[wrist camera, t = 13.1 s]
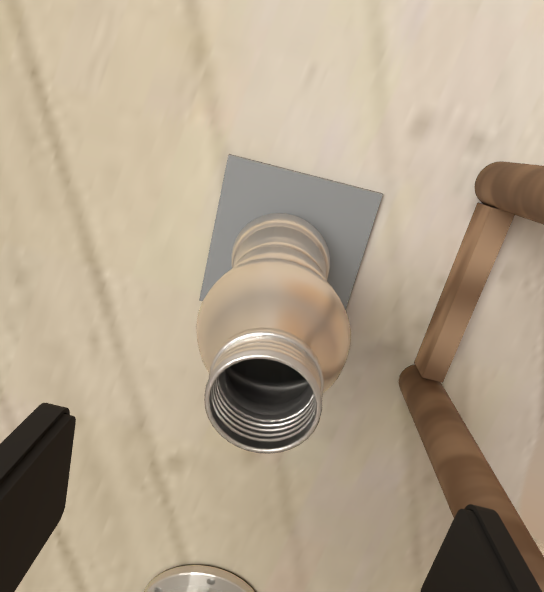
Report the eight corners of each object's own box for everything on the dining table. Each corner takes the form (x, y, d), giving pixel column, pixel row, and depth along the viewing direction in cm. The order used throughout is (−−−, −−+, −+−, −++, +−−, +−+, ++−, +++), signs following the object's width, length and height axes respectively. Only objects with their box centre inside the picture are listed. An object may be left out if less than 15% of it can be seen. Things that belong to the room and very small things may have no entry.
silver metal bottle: (261, 190, 31) (207, 266, 12) (344, 236, 32) (413, 373, 13) (221, 268, 33) (123, 435, 14) (300, 309, 34) (305, 519, 15)
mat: (336, 331, 35) (337, 334, 35) (200, 297, 35) (199, 300, 34) (381, 193, 31) (382, 194, 31) (229, 154, 31) (228, 154, 31)
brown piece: (430, 403, 37) (647, 832, 14) (390, 393, 37) (543, 810, 14) (531, 165, 30) (1242, 242, 7) (483, 153, 30) (1056, 191, 7)
